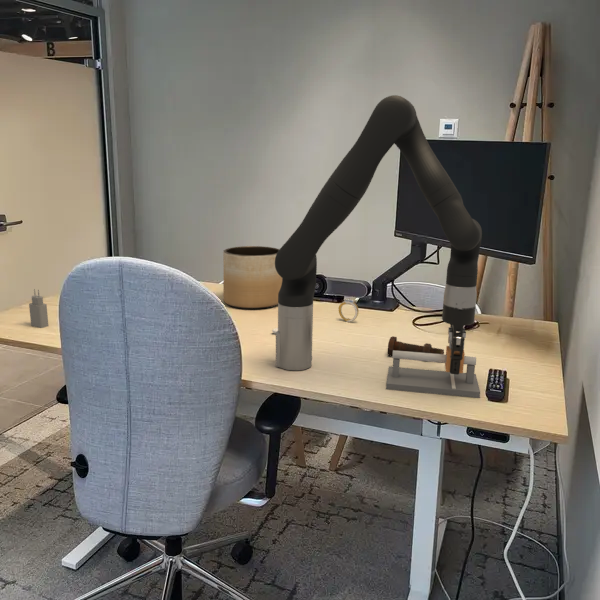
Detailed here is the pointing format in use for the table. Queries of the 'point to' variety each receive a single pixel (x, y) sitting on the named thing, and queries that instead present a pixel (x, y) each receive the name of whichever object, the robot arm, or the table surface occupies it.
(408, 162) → the robot arm
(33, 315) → the power adapter
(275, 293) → the planter
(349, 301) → the ring
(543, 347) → the table surface
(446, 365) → the collar
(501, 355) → the table surface
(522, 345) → the table surface
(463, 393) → the pipe stand
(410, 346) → the bolt
